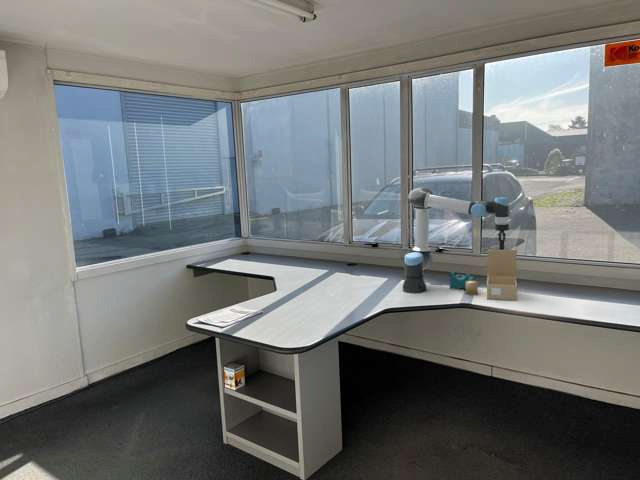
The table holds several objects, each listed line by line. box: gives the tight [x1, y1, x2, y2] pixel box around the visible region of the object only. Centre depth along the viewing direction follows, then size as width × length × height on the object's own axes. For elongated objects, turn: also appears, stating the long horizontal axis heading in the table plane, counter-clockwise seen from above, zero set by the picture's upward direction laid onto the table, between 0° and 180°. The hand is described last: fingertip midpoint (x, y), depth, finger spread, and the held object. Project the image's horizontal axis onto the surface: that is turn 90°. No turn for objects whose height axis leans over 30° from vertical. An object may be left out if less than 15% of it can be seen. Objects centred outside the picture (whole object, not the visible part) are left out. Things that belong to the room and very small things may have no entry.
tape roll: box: [465, 280, 479, 296], centre depth 275 cm, size 7×7×7 cm
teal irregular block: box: [449, 271, 474, 291], centre depth 292 cm, size 18×11×10 cm, turn 150°
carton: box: [486, 275, 518, 302], centre depth 268 cm, size 16×20×9 cm
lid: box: [486, 249, 518, 277], centre depth 271 cm, size 16×20×1 cm
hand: (501, 262), depth 271 cm, fingers closed
